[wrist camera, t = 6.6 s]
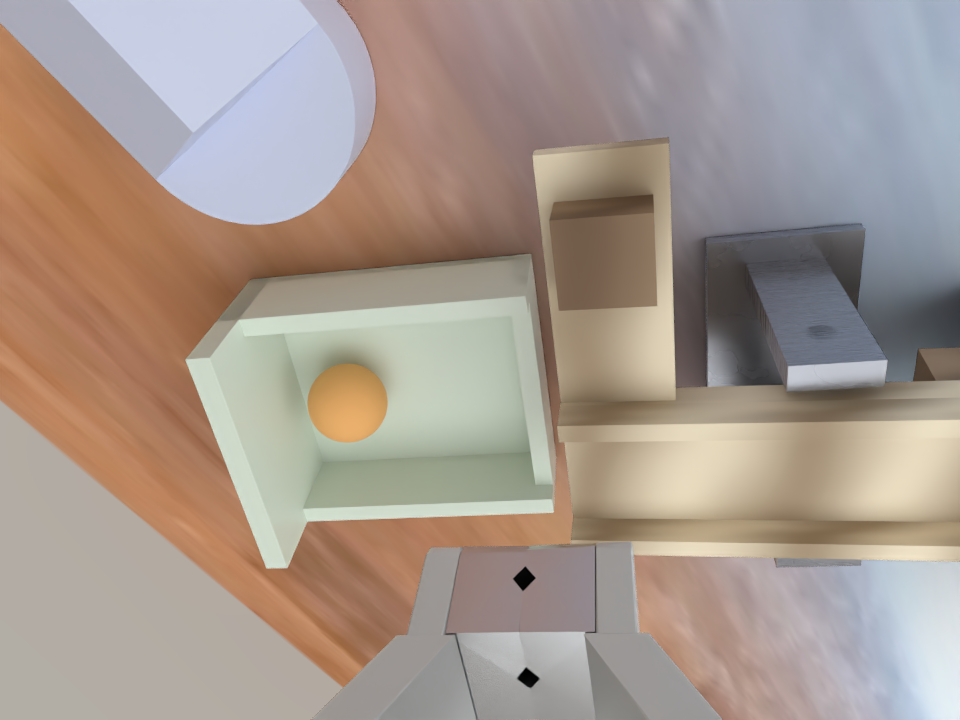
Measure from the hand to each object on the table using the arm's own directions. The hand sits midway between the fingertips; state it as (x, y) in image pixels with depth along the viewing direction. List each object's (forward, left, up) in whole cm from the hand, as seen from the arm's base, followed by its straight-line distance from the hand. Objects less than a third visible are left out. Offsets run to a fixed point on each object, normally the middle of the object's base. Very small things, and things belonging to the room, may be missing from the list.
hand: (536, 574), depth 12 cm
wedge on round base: (+16, -11, -20) cm, 28 cm away
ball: (+11, +10, -21) cm, 25 cm away
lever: (-8, +10, -15) cm, 20 cm away
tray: (+8, +10, -23) cm, 26 cm away
